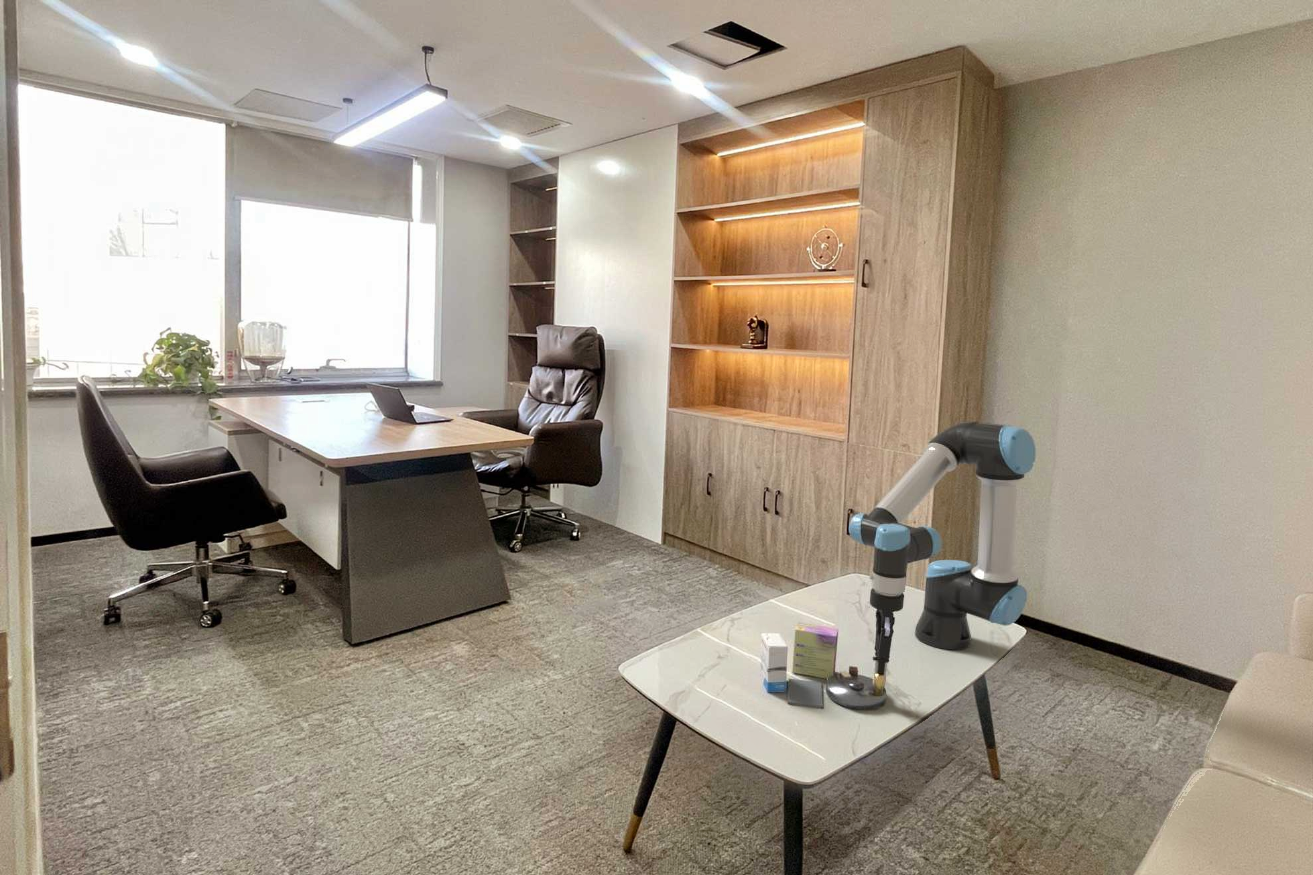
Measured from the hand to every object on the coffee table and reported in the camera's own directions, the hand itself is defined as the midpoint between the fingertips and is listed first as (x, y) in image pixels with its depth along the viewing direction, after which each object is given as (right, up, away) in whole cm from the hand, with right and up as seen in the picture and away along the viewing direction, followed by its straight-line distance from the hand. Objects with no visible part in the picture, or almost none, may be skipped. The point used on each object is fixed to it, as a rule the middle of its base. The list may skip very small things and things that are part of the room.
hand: (878, 684), depth 176 cm
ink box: (-24, -2, +7) cm, 26 cm away
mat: (-17, -3, +3) cm, 18 cm away
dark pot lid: (-5, -4, +2) cm, 7 cm away
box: (-12, -2, +15) cm, 19 cm away
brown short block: (-3, -2, +11) cm, 12 cm away
